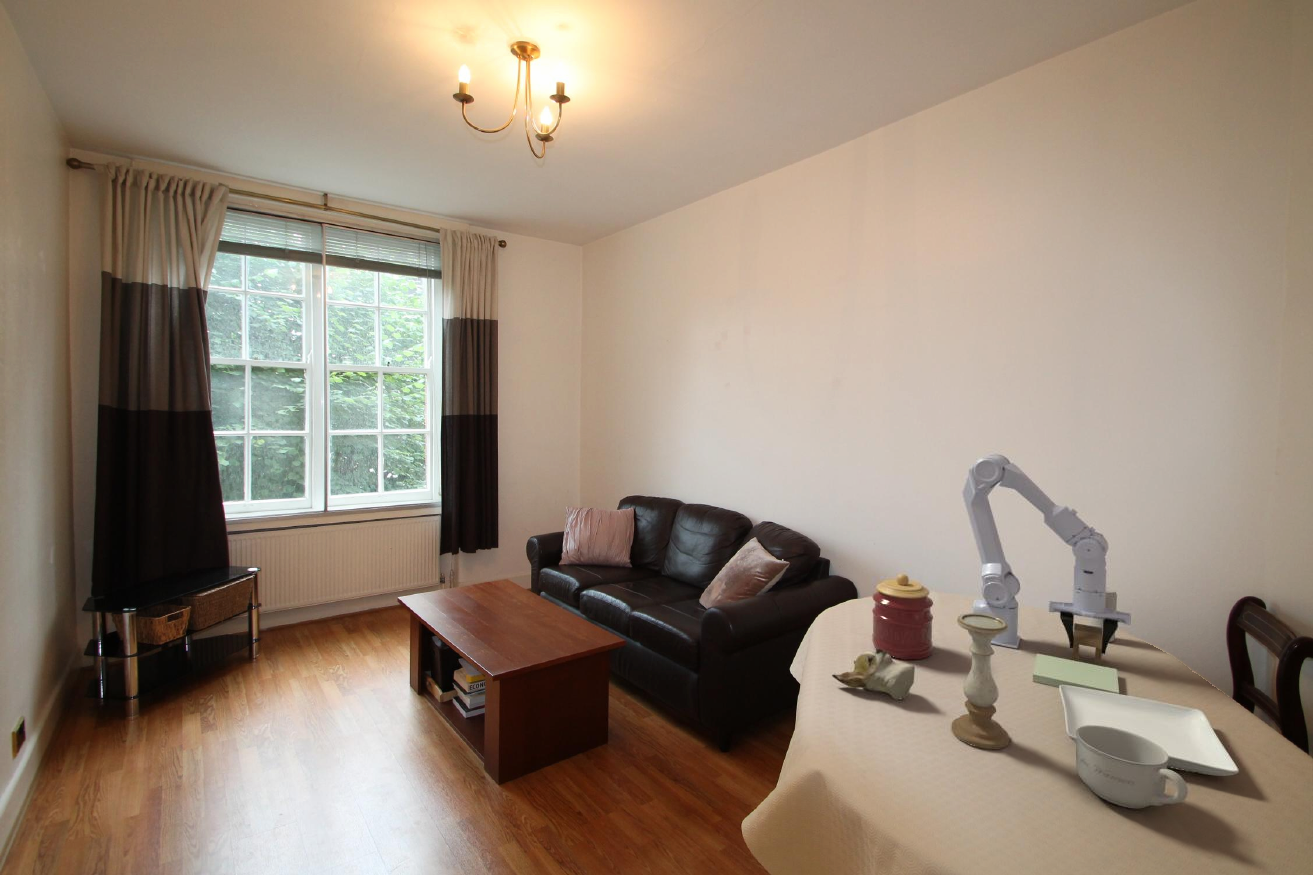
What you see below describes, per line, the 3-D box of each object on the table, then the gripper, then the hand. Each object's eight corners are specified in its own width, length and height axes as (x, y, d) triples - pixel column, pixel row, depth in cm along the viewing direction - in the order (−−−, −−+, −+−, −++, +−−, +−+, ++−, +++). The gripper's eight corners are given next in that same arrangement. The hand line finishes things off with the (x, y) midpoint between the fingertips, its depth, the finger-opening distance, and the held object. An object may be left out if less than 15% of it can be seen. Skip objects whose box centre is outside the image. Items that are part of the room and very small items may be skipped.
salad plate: (1057, 698, 118) (1058, 680, 118) (1201, 726, 107) (1202, 707, 107) (1066, 754, 100) (1067, 734, 99) (1241, 795, 89) (1242, 772, 89)
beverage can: (1106, 635, 147) (1108, 586, 146) (1120, 643, 142) (1121, 592, 141) (1085, 634, 147) (1087, 586, 147) (1098, 642, 143) (1099, 592, 142)
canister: (936, 644, 143) (937, 571, 142) (927, 665, 132) (928, 586, 131) (878, 633, 150) (879, 563, 149) (865, 653, 139) (866, 577, 138)
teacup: (1057, 774, 94) (1058, 724, 93) (1122, 769, 95) (1124, 719, 94) (1135, 839, 80) (1137, 780, 80) (1210, 832, 81) (1213, 775, 81)
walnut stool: (1072, 661, 133) (1073, 630, 132) (1073, 653, 137) (1074, 622, 137) (1101, 666, 130) (1102, 635, 130) (1100, 658, 134) (1101, 627, 134)
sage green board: (1032, 681, 124) (1032, 674, 124) (1036, 660, 134) (1037, 653, 134) (1118, 700, 116) (1119, 692, 116) (1116, 676, 126) (1116, 669, 126)
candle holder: (987, 755, 99) (990, 634, 98) (940, 729, 107) (942, 617, 105) (1020, 741, 103) (1023, 624, 102) (972, 717, 111) (974, 608, 109)
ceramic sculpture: (901, 666, 112) (828, 648, 123) (903, 712, 112) (830, 690, 123) (925, 649, 120) (854, 633, 130) (927, 693, 120) (856, 673, 131)
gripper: (1048, 587, 133) (1047, 647, 134) (1132, 599, 125) (1130, 663, 126) (1050, 579, 139) (1048, 637, 140) (1130, 590, 131) (1128, 651, 132)
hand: (1087, 649), depth 133 cm, fingers closed on walnut stool, 5 cm apart
